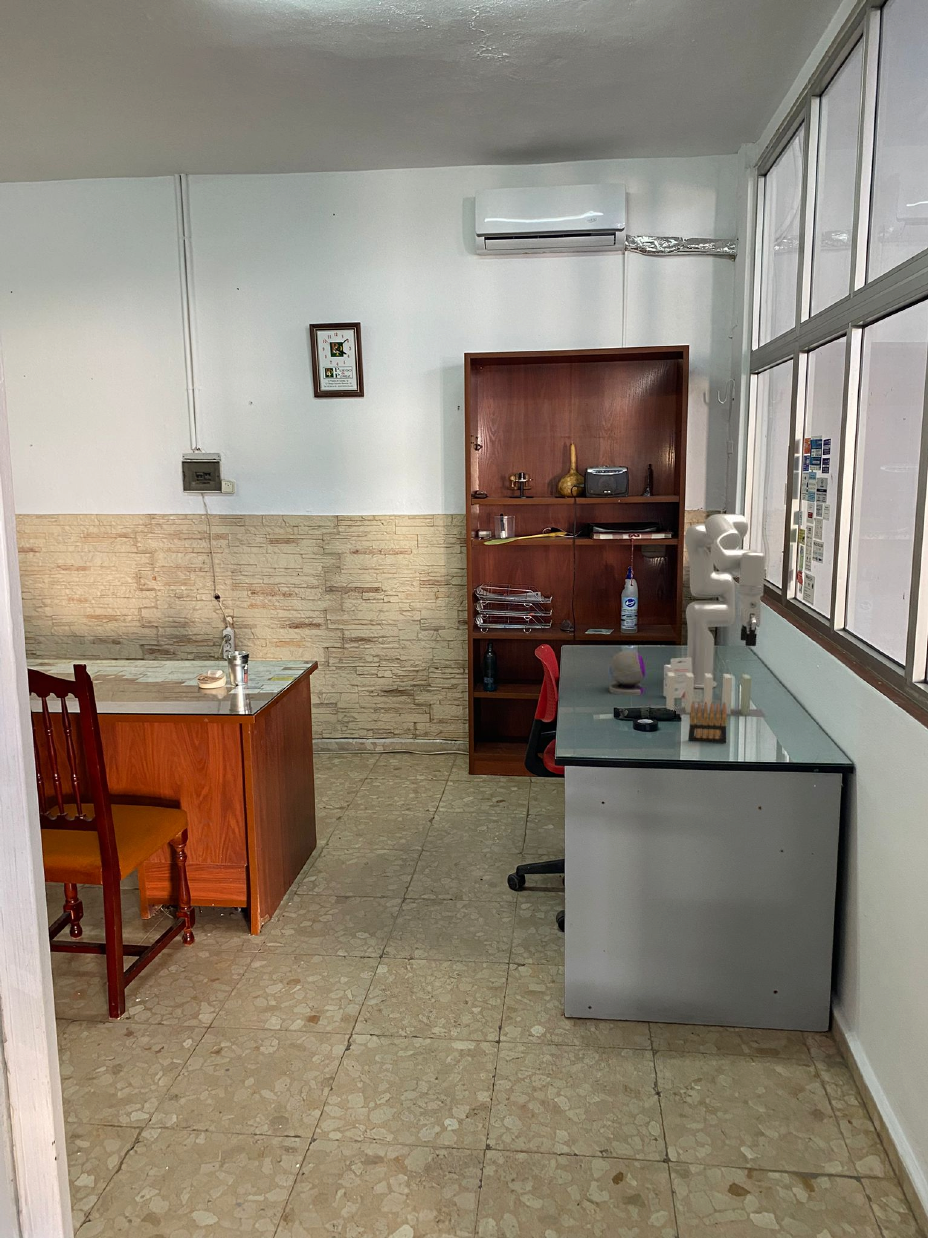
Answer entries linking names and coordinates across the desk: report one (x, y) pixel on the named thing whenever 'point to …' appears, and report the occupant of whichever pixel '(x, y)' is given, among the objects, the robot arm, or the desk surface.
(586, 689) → the desk surface
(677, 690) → the ink cartridge box
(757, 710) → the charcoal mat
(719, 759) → the desk surface
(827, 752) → the desk surface
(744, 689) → the sage domino
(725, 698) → the cream domino
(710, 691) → the cream domino
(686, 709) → the cream domino
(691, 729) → the ammunition clip
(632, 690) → the webcam
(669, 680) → the cream domino
